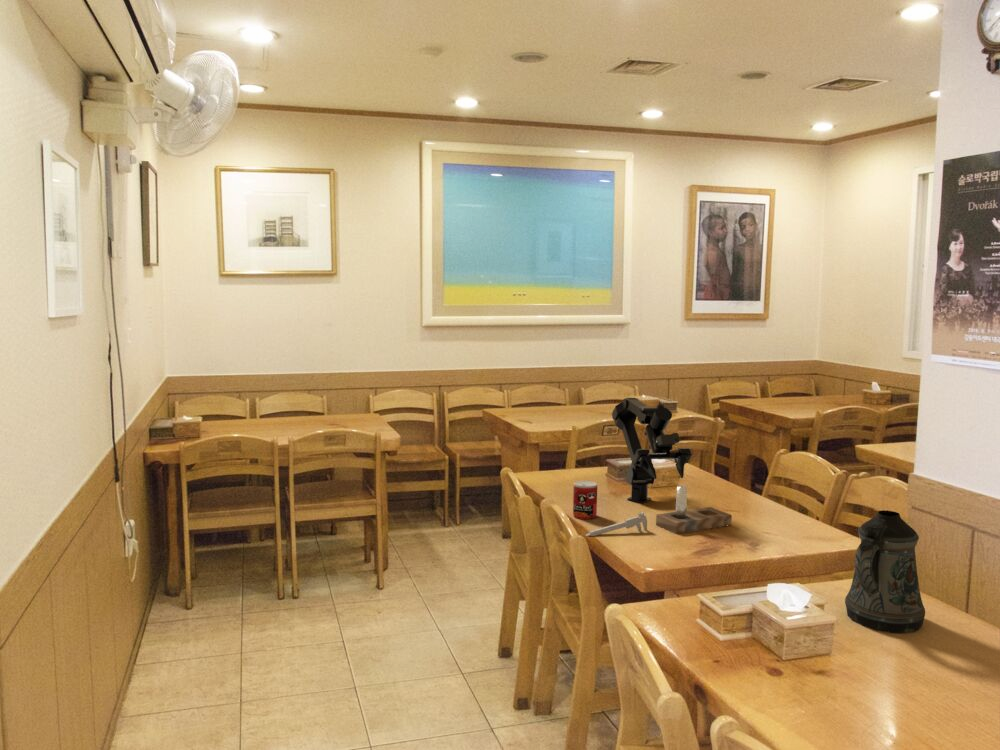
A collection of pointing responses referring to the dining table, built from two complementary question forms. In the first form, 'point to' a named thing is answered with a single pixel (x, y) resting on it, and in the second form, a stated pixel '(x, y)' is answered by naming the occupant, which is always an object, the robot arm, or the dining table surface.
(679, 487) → the drill rod
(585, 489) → the canned food
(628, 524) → the caliper
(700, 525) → the tool block
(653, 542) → the dining table surface
